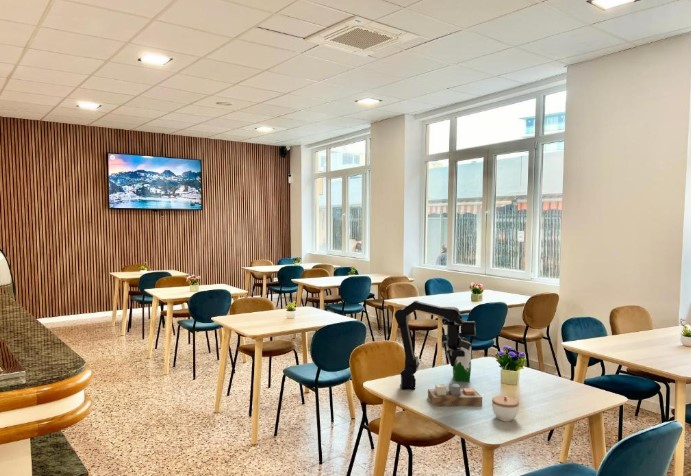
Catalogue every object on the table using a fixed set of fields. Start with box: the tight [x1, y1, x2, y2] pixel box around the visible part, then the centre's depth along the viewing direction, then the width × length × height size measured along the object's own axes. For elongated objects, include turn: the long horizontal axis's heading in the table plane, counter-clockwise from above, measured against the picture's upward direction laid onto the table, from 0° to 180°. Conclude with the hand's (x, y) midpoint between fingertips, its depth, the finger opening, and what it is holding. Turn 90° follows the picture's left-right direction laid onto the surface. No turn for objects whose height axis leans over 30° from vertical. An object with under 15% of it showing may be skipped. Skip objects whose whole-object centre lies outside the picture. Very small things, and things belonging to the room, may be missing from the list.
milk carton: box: [452, 346, 472, 382], centre depth 253 cm, size 9×9×20 cm
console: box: [427, 388, 483, 408], centre depth 222 cm, size 22×11×4 cm, turn 94°
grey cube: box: [448, 383, 461, 395], centre depth 222 cm, size 4×4×4 cm
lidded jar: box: [491, 395, 520, 422], centre depth 204 cm, size 11×11×9 cm
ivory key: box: [434, 383, 447, 395], centre depth 221 cm, size 4×4×4 cm
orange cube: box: [462, 387, 474, 395], centre depth 222 cm, size 4×4×4 cm
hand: (452, 366), depth 233 cm, fingers closed
